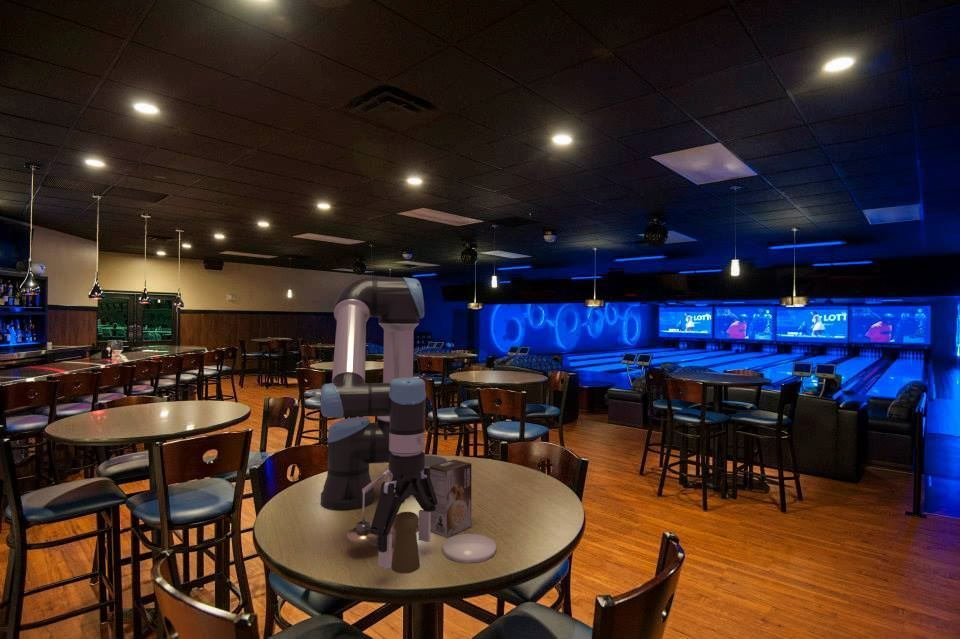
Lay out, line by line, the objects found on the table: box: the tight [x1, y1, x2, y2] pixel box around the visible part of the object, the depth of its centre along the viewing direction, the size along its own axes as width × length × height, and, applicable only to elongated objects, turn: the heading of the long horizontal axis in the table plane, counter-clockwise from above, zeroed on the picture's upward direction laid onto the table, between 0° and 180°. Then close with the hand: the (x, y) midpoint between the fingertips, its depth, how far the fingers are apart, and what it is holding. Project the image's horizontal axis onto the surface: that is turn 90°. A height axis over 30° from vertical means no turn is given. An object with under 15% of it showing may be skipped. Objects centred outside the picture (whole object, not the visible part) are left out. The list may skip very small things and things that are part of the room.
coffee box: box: [430, 459, 472, 538], centre depth 124 cm, size 9×6×16 cm
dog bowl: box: [425, 454, 450, 469], centre depth 168 cm, size 17×18×5 cm
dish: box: [442, 533, 497, 564], centre depth 112 cm, size 12×12×1 cm
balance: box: [346, 464, 419, 548], centre depth 119 cm, size 8×26×19 cm, turn 151°
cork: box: [390, 511, 421, 574], centre depth 104 cm, size 6×6×11 cm
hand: (405, 553), depth 104 cm, fingers open, 13 cm apart
